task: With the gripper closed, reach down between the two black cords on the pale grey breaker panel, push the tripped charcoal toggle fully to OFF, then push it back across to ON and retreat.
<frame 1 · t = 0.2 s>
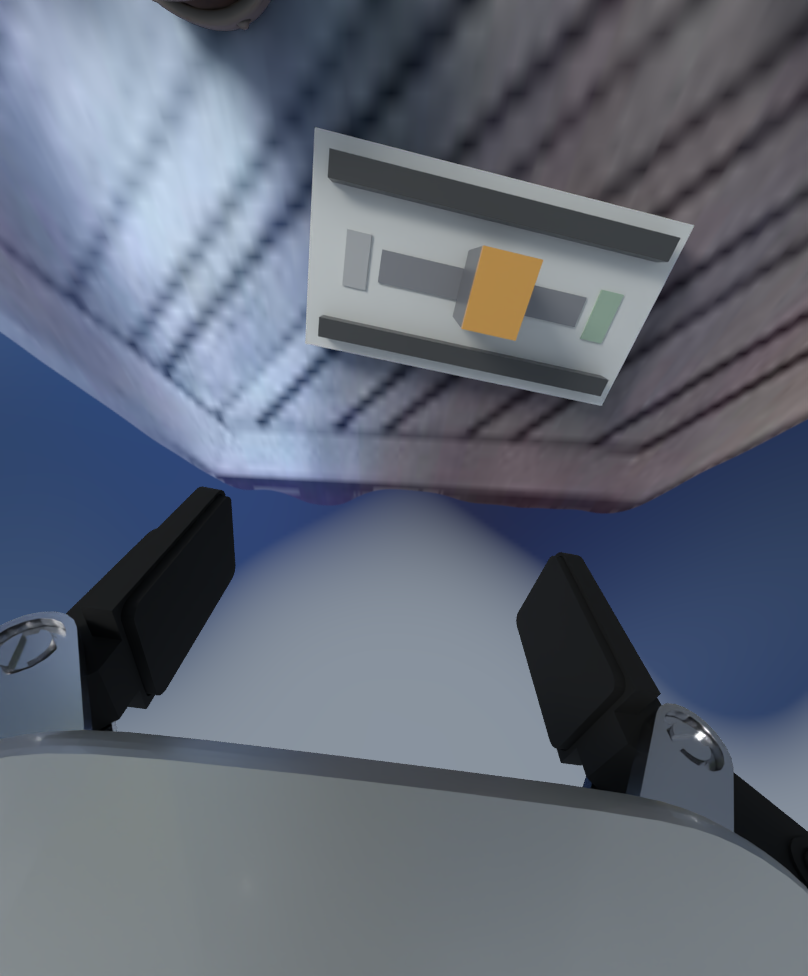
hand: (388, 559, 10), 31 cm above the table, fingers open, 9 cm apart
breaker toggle: (490, 292, 27), point 7 cm above the table, slide at 0.0 cm
breaker panel: (477, 288, 33), on the table
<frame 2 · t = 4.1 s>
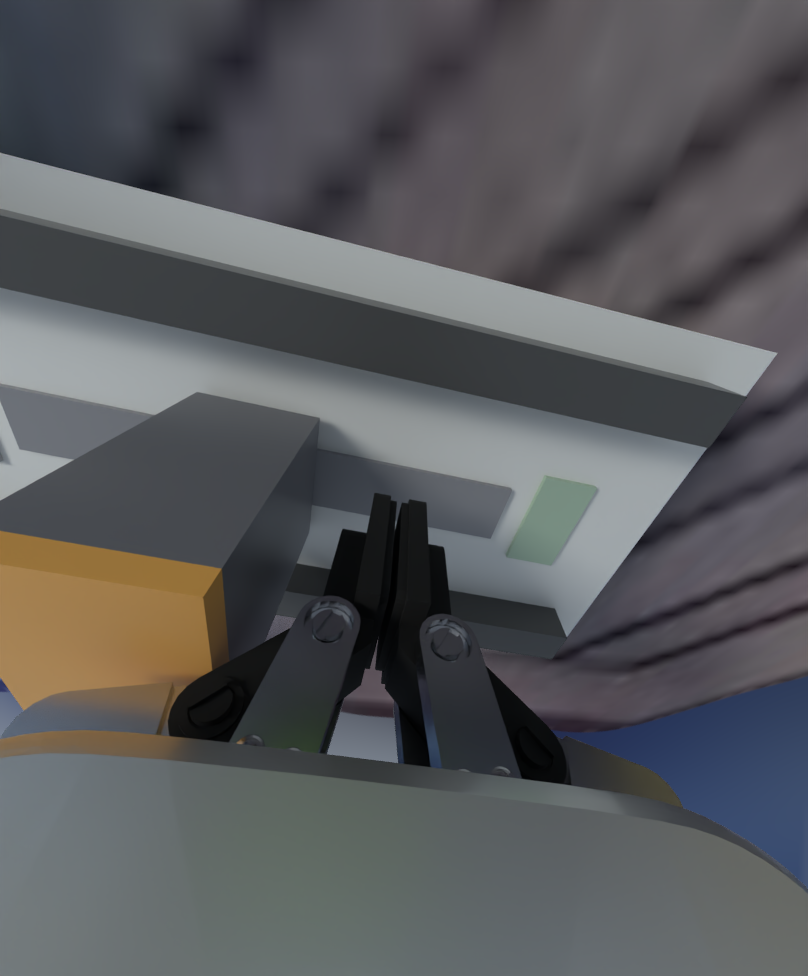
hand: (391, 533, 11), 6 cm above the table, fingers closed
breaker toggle: (207, 536, 10), point 7 cm above the table, slide at -0.3 cm, touching gripper
breaker panel: (294, 435, 16), on the table
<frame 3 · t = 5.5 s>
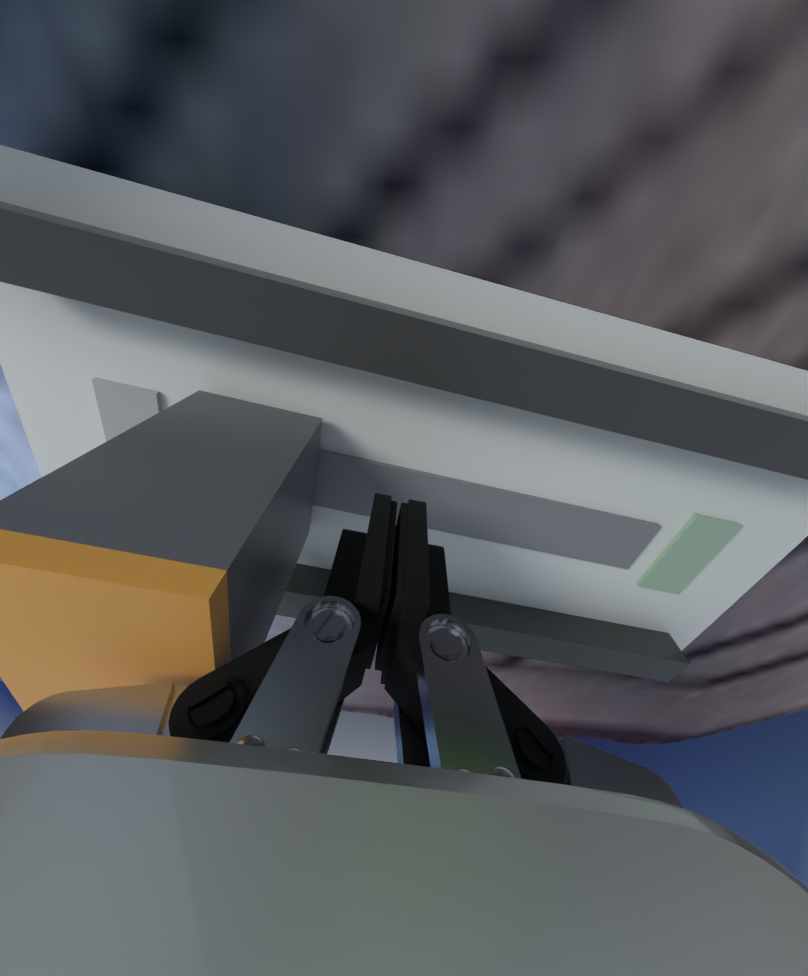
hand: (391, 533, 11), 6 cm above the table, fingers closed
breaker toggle: (208, 536, 10), point 7 cm above the table, slide at -6.5 cm, touching gripper
breaker panel: (429, 465, 16), on the table
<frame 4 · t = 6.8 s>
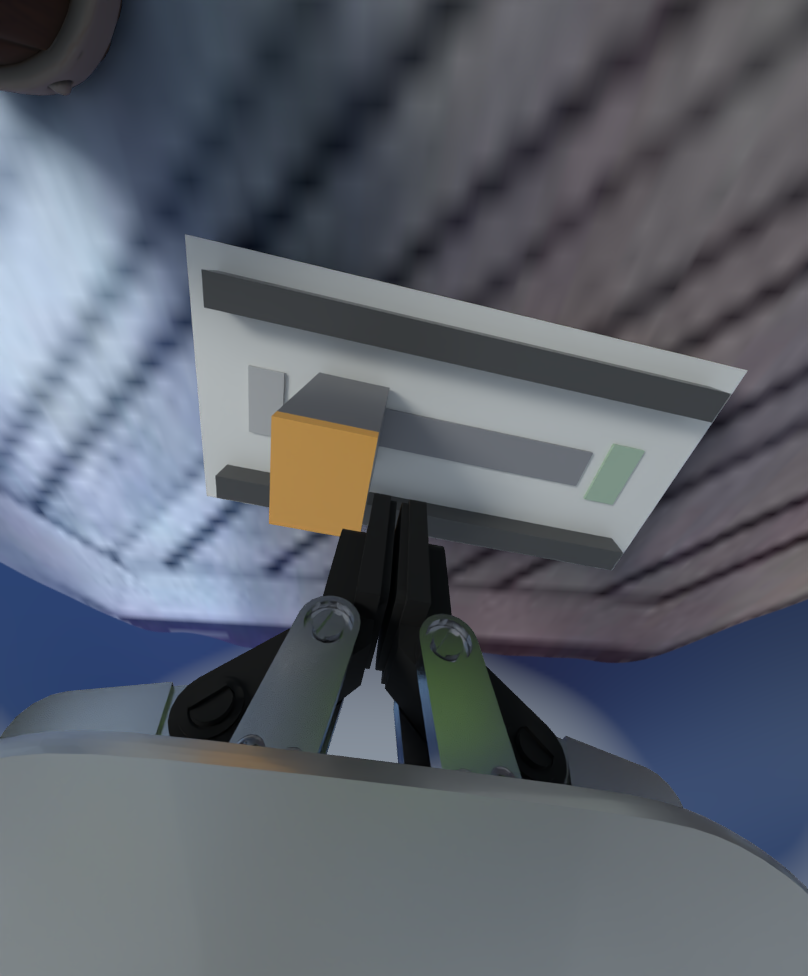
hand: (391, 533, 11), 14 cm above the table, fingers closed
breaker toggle: (337, 447, 18), point 7 cm above the table, slide at -6.0 cm
breaker panel: (443, 423, 24), on the table
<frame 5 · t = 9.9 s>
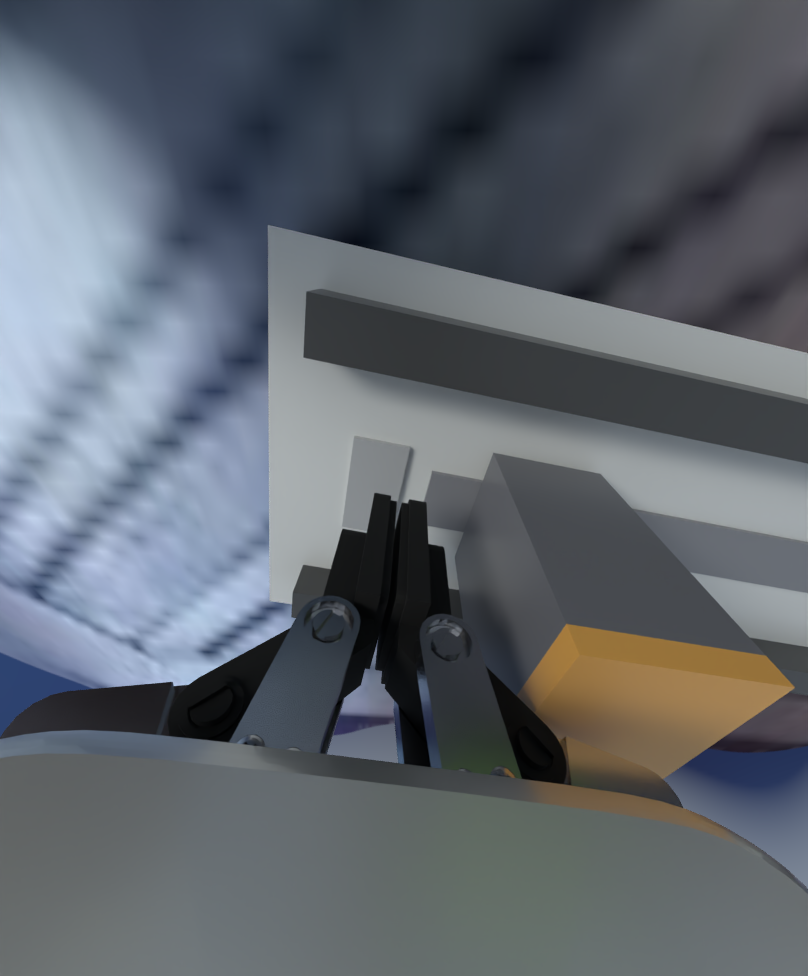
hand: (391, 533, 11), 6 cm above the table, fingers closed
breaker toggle: (553, 595, 11), point 7 cm above the table, slide at -5.1 cm, touching gripper
breaker panel: (605, 496, 17), on the table
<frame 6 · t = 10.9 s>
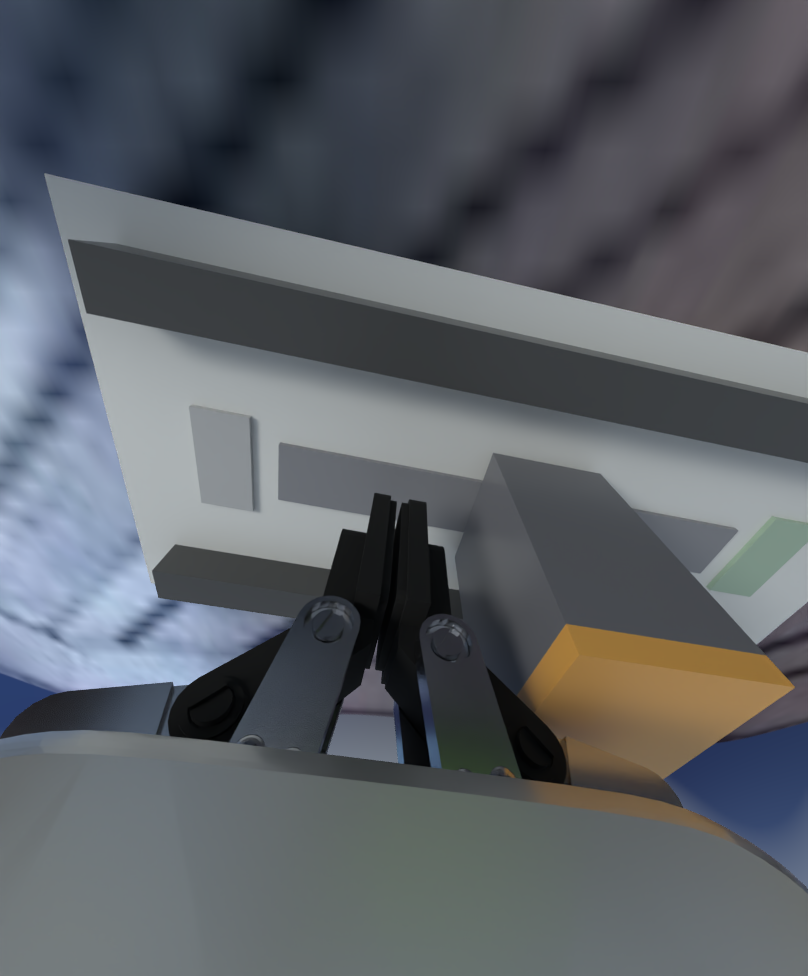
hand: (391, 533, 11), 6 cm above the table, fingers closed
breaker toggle: (553, 595, 10), point 7 cm above the table, slide at 0.5 cm, touching gripper
breaker panel: (494, 475, 17), on the table
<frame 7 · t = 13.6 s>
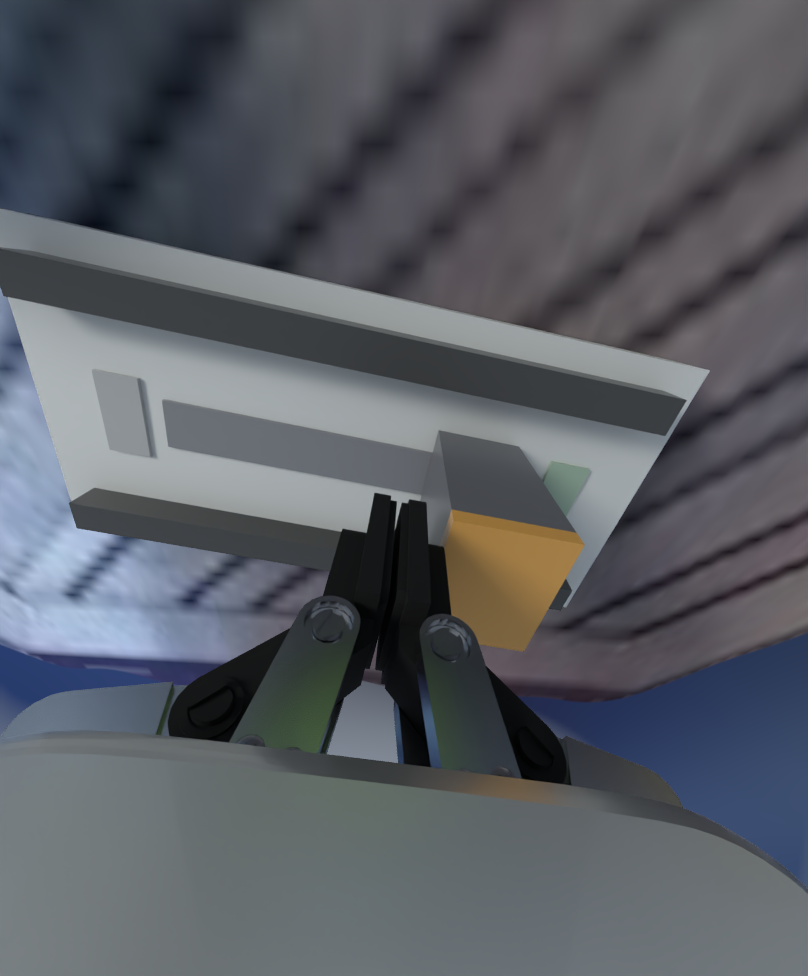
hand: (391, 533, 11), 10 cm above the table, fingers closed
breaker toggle: (475, 526, 15), point 7 cm above the table, slide at 6.0 cm
breaker panel: (357, 437, 21), on the table
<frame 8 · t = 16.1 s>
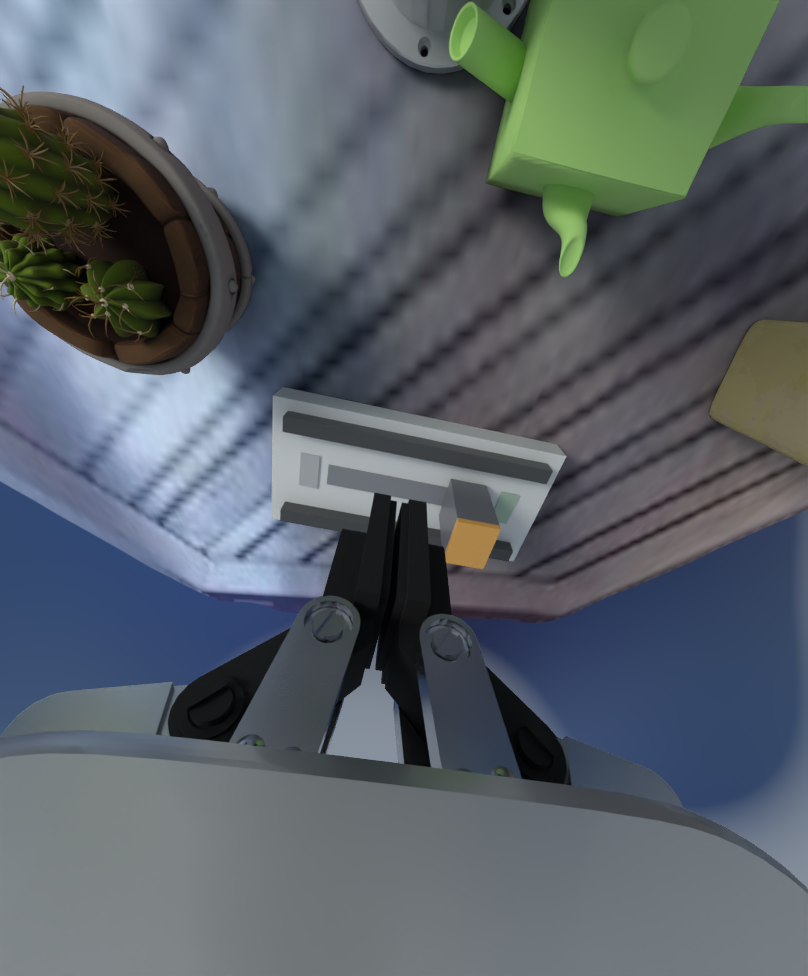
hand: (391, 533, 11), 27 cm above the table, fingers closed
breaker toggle: (466, 521, 36), point 7 cm above the table, slide at 6.0 cm
kettle: (570, 139, 26), on the table
flowerpot: (194, 260, 31), on the table
breaker panel: (409, 475, 41), on the table
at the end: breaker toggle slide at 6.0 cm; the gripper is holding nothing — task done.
